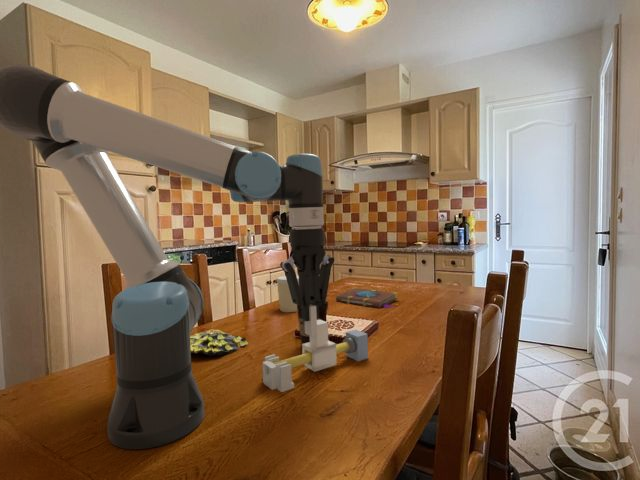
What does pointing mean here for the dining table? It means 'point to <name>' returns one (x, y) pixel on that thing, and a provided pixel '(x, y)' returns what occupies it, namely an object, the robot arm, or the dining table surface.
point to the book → (367, 297)
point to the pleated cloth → (215, 342)
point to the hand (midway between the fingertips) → (311, 334)
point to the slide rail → (280, 371)
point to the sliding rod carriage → (320, 349)
